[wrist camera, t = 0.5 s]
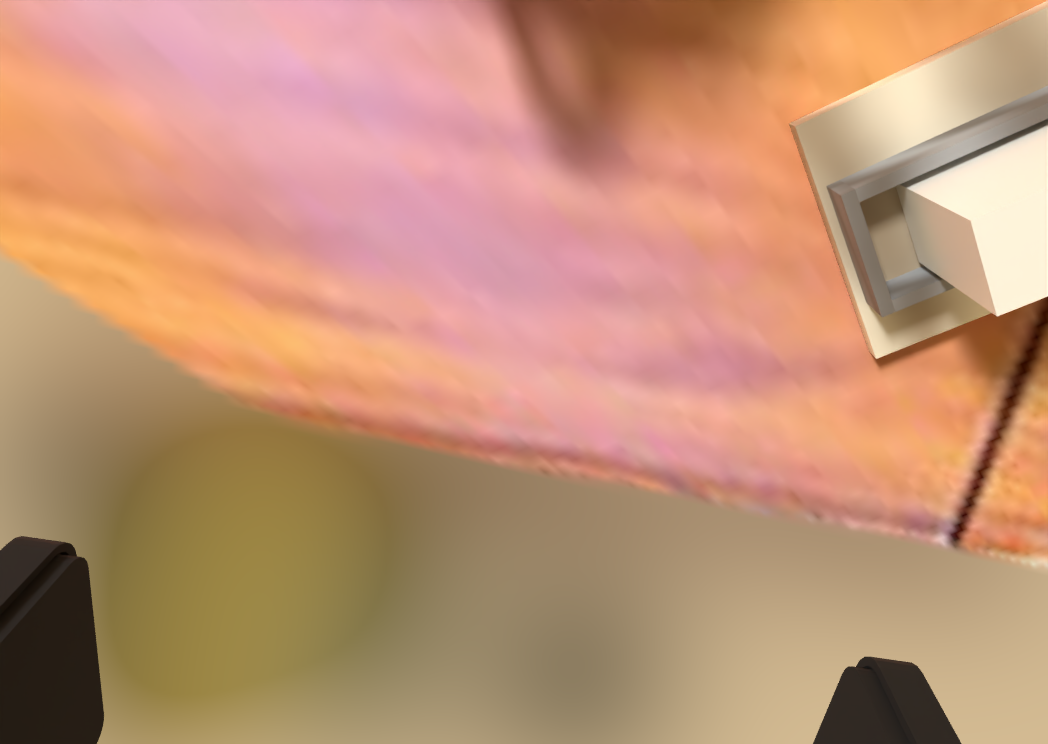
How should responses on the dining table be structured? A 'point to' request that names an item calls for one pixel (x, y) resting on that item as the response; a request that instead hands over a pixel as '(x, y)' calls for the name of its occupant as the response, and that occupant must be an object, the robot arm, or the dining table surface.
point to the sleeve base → (916, 167)
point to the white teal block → (986, 220)
